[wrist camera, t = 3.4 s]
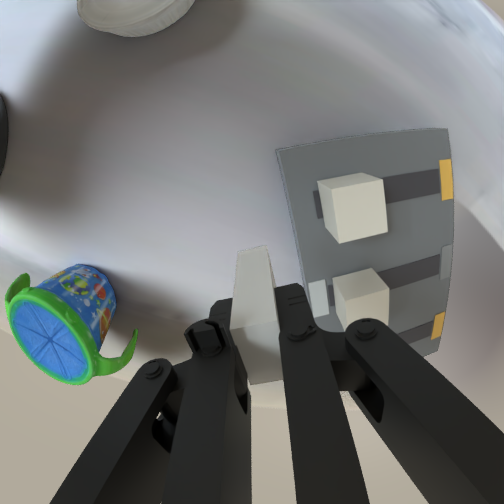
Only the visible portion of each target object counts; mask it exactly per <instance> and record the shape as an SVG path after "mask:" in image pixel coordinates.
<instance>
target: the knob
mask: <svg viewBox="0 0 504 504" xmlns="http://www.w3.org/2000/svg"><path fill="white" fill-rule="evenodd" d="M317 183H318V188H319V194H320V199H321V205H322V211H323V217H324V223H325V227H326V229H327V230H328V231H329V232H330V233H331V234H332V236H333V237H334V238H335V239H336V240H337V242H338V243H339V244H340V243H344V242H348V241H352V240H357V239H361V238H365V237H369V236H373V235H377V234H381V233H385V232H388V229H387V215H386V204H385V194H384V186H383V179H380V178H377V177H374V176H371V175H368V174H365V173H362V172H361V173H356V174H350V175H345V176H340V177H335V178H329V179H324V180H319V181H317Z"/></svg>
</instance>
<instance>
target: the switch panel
mask: <svg viewBox="0 0 504 504" xmlns="http://www.w3.org/2000/svg"><path fill="white" fill-rule="evenodd" d="M276 154H277V158H278V162H279V166H280V171H281V175H282V180H283V184H284V189H285V193H286V198H287V202H288V207H289V212H290V216H291V221H292V226H293V231H294V236H295V241H296V246H297V251H298V256H299V262H300V267H301V272H302V278H303V283H304V289H305V293H306V296H307V299H308V302H309V305H310V308H311V311H312V314H313V317H314V320H315V323H316V324H317V326H318V327H319V328H321V329H323V330H325V331H329V332H345V331H344V328H343V326H342V324H341V322H340V320H339V318H338V315H337V313H336V306H335V297H334V288H333V279H332V278H334V277H338V276H342V275H346V274H350V273H354V272H358V271H361V270H365V269H369V268H372V269H373V270H374V271H375V272H376V273H377V274H378V276H379V277H380V278H381V279H382V280H383V281H384V283H385V284H386V285H387V286H388V287H389V320H388V325H387V326H388V327H389V328H390V329H391V330H393V331H394V332H395V333H396V334H397V335H398V336H399V337H401V338H402V339H403V340H404V341H405V342H406V343H407V344H408V345H410V346H411V347H412V348H413V349H414V350H415V351H416V352H418V353H419V354H420V355H421V356H422V357H424V356H427V355H429V354H431V353H434V352H436V351H437V350H438V347H439V343H440V339H441V334H442V329H443V324H444V318H445V312H446V307H447V301H448V293H449V286H450V277H451V267H452V255H453V237H454V191H453V173H452V161H451V151H450V143H449V135H448V129H446V128H427V129H413V130H401V131H391V132H382V133H373V134H365V135H358V136H351V137H344V138H337V139H331V140H325V141H319V142H314V143H308V144H303V145H298V146H293V147H288V148H283V149H278V150H276ZM361 172H362V173H365V174H368V175H371V176H374V177H377V178H380V179H383V186H384V194H385V204H386V215H387V229H388V232H385V233H381V234H377V235H373V236H369V237H365V238H361V239H357V240H352V241H348V242H344V243H340V244H339V243H338V242H337V240H336V239H335V238H334V237H333V236H332V234H331V233H330V232H329V231H328V230H327V229H326V227H325V223H324V217H323V211H322V205H321V199H320V194H319V188H318V183H317V181H319V180H324V179H329V178H335V177H340V176H345V175H350V174H356V173H361Z"/></svg>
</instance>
